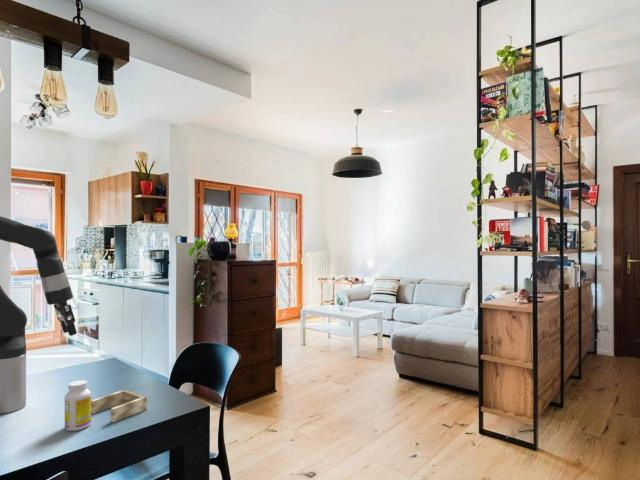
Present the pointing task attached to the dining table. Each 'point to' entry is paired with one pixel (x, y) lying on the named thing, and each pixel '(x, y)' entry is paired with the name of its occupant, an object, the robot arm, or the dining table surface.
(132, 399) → the birch caddy
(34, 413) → the dining table surface
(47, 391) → the dining table surface
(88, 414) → the supplement bottle
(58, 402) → the dining table surface
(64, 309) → the robot arm
